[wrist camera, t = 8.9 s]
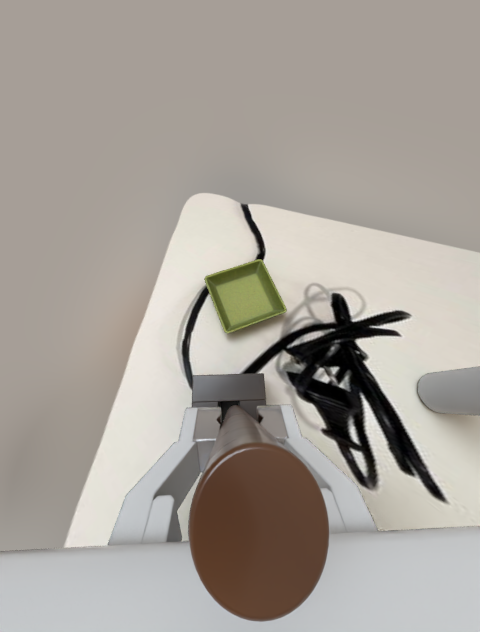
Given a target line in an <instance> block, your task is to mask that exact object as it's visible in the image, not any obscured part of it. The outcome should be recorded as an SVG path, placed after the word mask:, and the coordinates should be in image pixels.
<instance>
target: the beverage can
mask: <svg viewBox="0 0 480 632" xmlns="http://www.w3.org/2000/svg"><path fill="white" fill-rule="evenodd" d="M418 393H419V396H420V398H421V400H422V401H423V402H424V404H425V405H426V406H427V407H429V408H430V409H431V410H433V411H435V412H439V413H448V414H463V415H478V416H480V366H479V367H472V368H464V369H456V370H448V371H441V372H433V373H428V374H425V375H424V376H422V377H421V379H420V380H419V383H418Z"/></svg>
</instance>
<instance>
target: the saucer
mask: <svg viewBox="0 0 480 632" xmlns="http://www.w3.org/2000/svg"><path fill="white" fill-rule="evenodd" d="M204 280H205V283H206V285H207V288H208V290H209V293H210V295H211V298H212V301H213V303H214V306H215V309H216V311H217V314H218V316H219V319H220V322H221V324H222V327H223V330H224V332H225V333H227V334H228V333H231V332H234V331H237V330H239V329H242V328H245V327H247V326H250V325H253V324H256V323H258V322H261V321H264V320H266V319H269V318H272V317H275V316H277V315H280V314H283V313H285V312H286V311H287V310H286V307H285V305H284V303H283V301H282V299H281V297H280V295H279V293H278V291H277V289H276V287H275V285H274V283H273V281H272V279H271V277H270V275H269V273H268V271H267V268H266V266H265V264H264V262H263V260H260V259H259V260H255V261H252V262H249V263H246V264H243V265H240V266H236V267H233V268H230V269H227V270H223V271H220V272H217V273H214V274H211V275H208V276H206V277H205V279H204Z"/></svg>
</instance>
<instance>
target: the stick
mask: <svg viewBox="0 0 480 632" xmlns="http://www.w3.org/2000/svg"><path fill="white" fill-rule="evenodd" d="M188 535H189V546H190V551H191V556H192V559H193V563H194V566H195V569H196V571H197V573H198V576H199V578H200V580H201V582H202V583H203V585H204V587H205V588H206V590H207V591H208V593H209V594H210V595H211V596H212V598H213V599H214V600H215V601H216V602H217V603H218V604H219V605H220V606H221V607H222V608H224V609H225V610H227V611H228V612H230V613H231V614H233V615H235V616H237V617H239V618H242V619H246V620H249V621H258V622H264V621H272V620H275V619H279V618H282V617H284V616H286V615H288V614H290V613H291V612H293V611H294V610H295V609H297V608H298V607H299V606H300V605H301V604H302V603H303V602H304V601H305V600H306V599H307V598H308V597H309V596H310V594H311V593H312V592H313V590H314V589H315V587H316V585H317V583H318V581H319V579H320V577H321V575H322V572H323V570H324V566H325V563H326V559H327V553H328V547H329V520H328V513H327V508H326V504H325V500H324V497H323V494H322V492H321V489H320V487H319V485H318V483H317V481H316V479H315V478H314V476H313V474H312V473H311V471H310V470H309V469H308V468H307V466H306V465H305V464H304V463H303V462H302V461H301V460H300V459H299V458H298V457H297V456H296V455H294V454H293V453H292V452H291V451H290V450H289V449H288V448H287V447H285V446H284V445H283V444H282V443H281V442H280V441H279V440H277V439H276V438H275V437H274V436H273V435H272V434H271V433H270V432H268V431H267V430H266V429H265V428H264V427H263V426H262V425H261V424H259V423H258V422H257V421H256V420H255V419H254V418H253V417H251V416H250V415H249V414H248V413H247V412H246V411H245V410H244V409H242V408H241V407H240V406H238V405H233V406H231V407H230V408H229V409H228V411H227V413H226V416H225V418H224V421H223V423H222V426H221V428H220V431H219V433H218V436H217V438H216V441H215V443H214V446H213V448H212V451H211V453H210V456H209V458H208V461H207V463H206V466H205V468H204V471H203V473H202V475H201V478H200V480H199V483H198V485H197V488H196V491H195V493H194V496H193V499H192V504H191V508H190V514H189V525H188Z"/></svg>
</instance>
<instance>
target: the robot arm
mask: <svg viewBox="0 0 480 632" xmlns="http://www.w3.org/2000/svg"><path fill="white" fill-rule="evenodd" d="M256 413H257V419H256V421H257V422H258V423H259V424H261V425H262V426H263V427H264V428H265V429H266V430H267V431H268V432H270V433H271V434H272V435H273V436H274V437H275V438H276V439H277V440H279V441H280V442H281V443H282V444H283V445H284V446H285V447H287V448H288V449H289V450H290V451H291V452H292V453H293V454H294V455H296V456H297V457H298V458H299V459H300V460H301V461H302V462H303V463H304V464H305V465H306V466H307V468H308V469H309V470H310V471H311V473H312V474H313V476H314V478H315V479H316V481H317V483H318V485H319V487H320V489H321V492H322V494H323V497H324V500H325V504H326V508H327V513H328V520H329V547H328V553H327V559H326V563H325V566H324V570H323V572H322V575H321V577H320V579H319V581H318V583H317V585H316V587H315V589H314V590H313V592H312V593H311V594H310V596H309V597H308V598H307V599H306V600H305V601H304V602H303V603H302V604H301V605H300V606H299V607H298V608H297V609H295V610H294V611H293V612H291V613H290V614H288V615H286V616H284V617H282V618H279V619H275V620H272V621H264V622H258V621H249V620H246V619H242V618H239V617H237V616H235V615H233V614H231V613H230V612H228V611H227V610H225V609H224V608H222V607H221V606H220V605H219V604H218V603H217V602H216V601H215V600H214V599H213V598H212V596H211V595H210V594H209V593H208V591H207V590H206V588H205V587H204V585H203V583H202V582H201V580H200V578H199V576H198V573H197V571H196V569H195V566H194V563H193V559H192V556H191V551H190V546H189V541H183V542H181V540H182V535H181V530H180V525H179V520H178V515H177V510H178V508H179V507H180V505H181V504H182V502H183V500H184V499H185V497H186V495H187V494H188V492H189V491H190V489H191V487H192V486H193V484H194V482H195V481H196V479H197V478H198V476H199V474H200V472H203V471H204V468H205V466H206V463H207V461H208V458H209V456H210V453H211V451H212V448H213V446H214V443H215V441H216V438H217V436H218V433H219V431H220V428H221V426H222V420H221V415H222V412H221V407H198V408H186V410H185V414H184V418H183V423H182V427H181V432H180V436H179V440H178V442H174V443H173V445H172V446H171V447H170V448H169V449H168V450H167V451H166V452H165V453H164V454H163V455H162V457H161V458H160V459H159V460H158V461H157V462H156V463H155V464H154V465H153V466H152V467H151V469H150V470H149V471H148V472H147V473H146V474H145V475H144V476H143V477H142V478H141V479H140V481H139V482H138V483H137V484H136V485H135V486H134V487H133V488H132V489H131V490H130V491H129V493H128V494H127V495H126V496H125V499H124V502H123V504H122V507H121V510H120V513H119V515H118V518H117V521H116V523H115V526H114V529H113V531H112V534H111V537H110V540H109V542H108V545H107V546H89V547H71V548H53V549H35V550H15V551H0V632H480V526H466V527H447V528H428V529H410V530H391V531H378V529H377V527H376V525H375V522H374V520H373V518H372V516H371V514H370V512H369V510H368V507H367V505H366V503H365V501H364V499H363V497H362V495H361V492H360V490H359V488H358V486H357V485H356V484H355V483H354V482H353V481H352V480H351V479H350V478H349V477H348V476H346V475H345V474H344V473H343V472H342V471H341V470H340V469H339V468H338V467H337V466H336V465H335V464H334V463H333V462H332V461H330V460H329V459H328V458H327V457H326V456H325V455H324V454H323V453H322V452H321V451H320V450H319V449H318V448H317V447H315V446H314V445H313V444H312V443H311V442H310V441H309V440H308V439H307V438H302V435H301V432H300V429H299V425H298V422H297V419H296V416H295V413H294V410H293V407H292V406H291V405H266V406H257V411H256Z"/></svg>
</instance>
